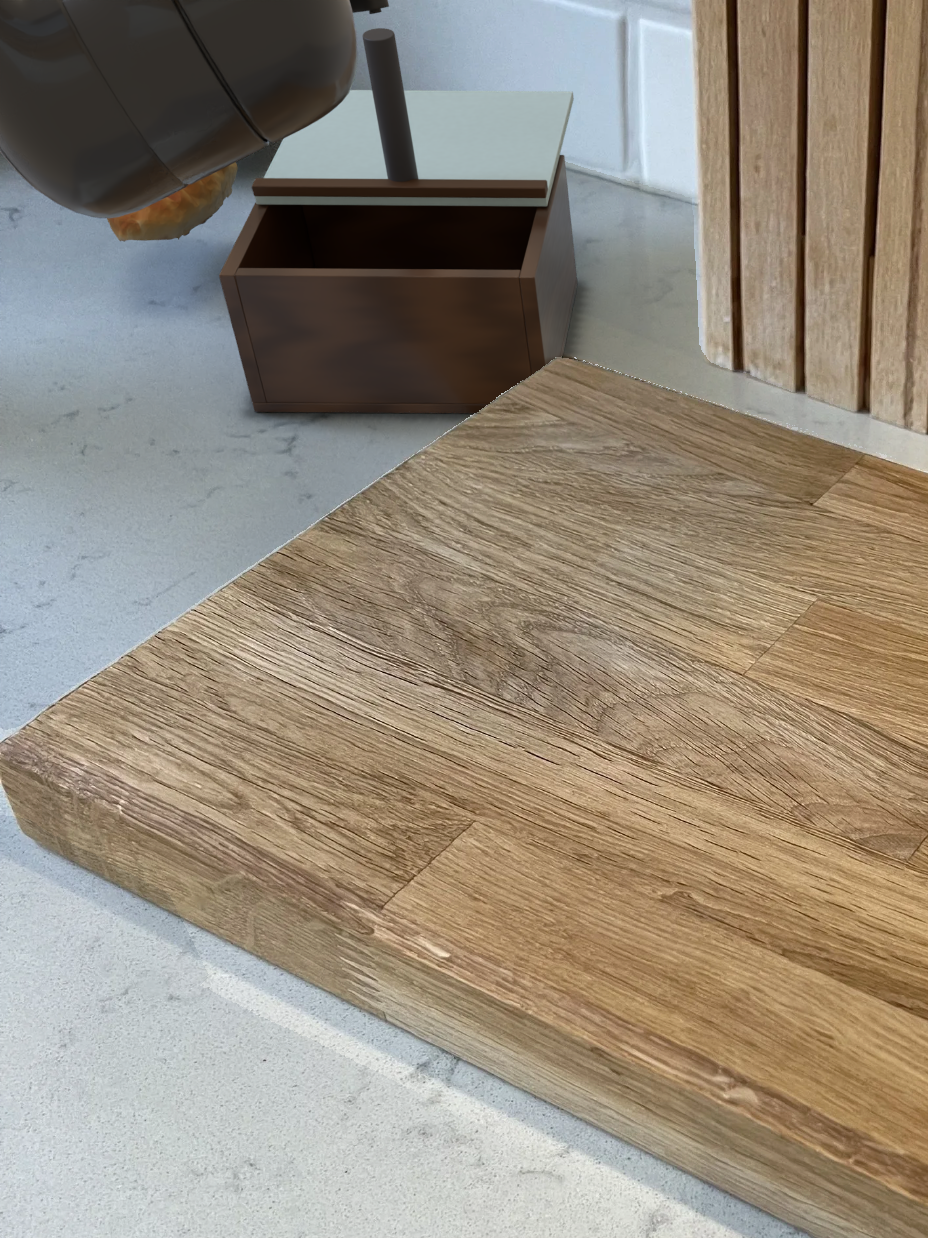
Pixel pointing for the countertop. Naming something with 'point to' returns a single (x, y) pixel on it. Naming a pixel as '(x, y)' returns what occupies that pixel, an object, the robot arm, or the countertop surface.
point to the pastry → (177, 210)
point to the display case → (399, 303)
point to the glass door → (421, 145)
